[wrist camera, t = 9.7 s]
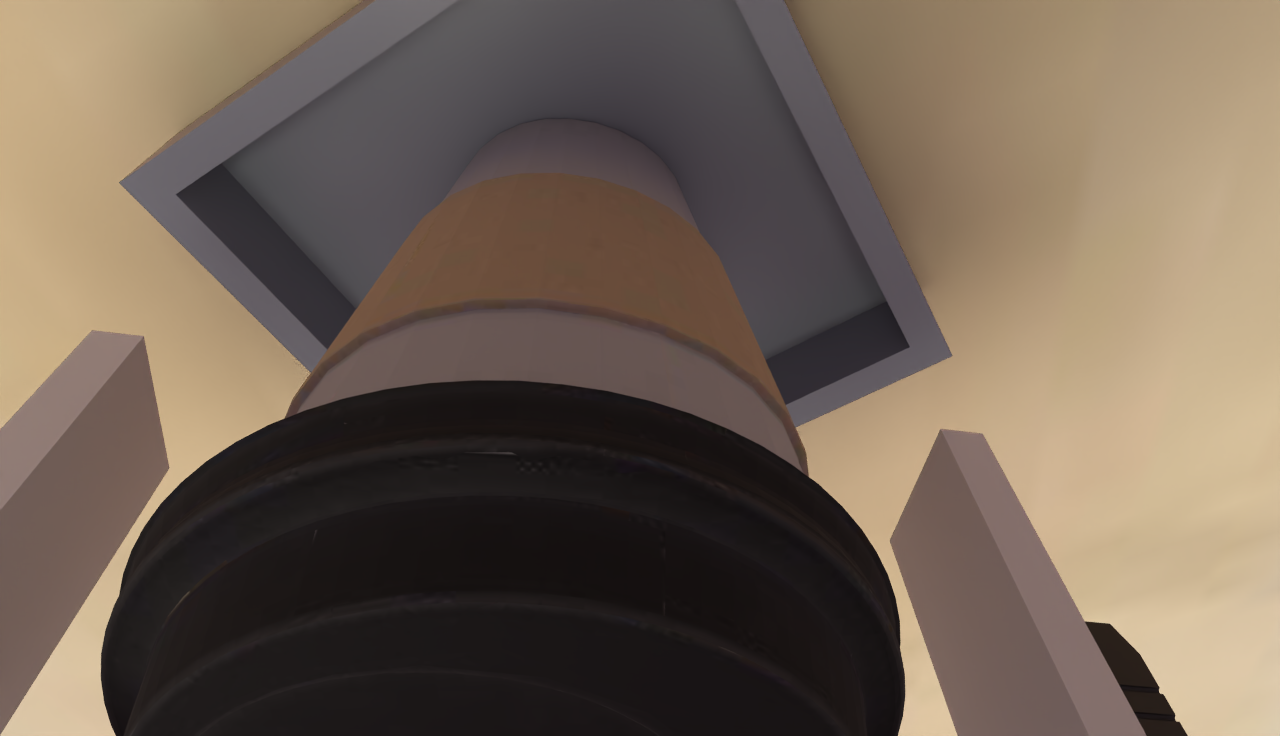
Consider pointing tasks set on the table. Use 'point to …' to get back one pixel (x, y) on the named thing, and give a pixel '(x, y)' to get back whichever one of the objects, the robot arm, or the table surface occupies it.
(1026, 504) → the table surface
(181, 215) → the tray
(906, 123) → the table surface
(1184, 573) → the table surface
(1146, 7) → the table surface
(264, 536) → the coffee cup
